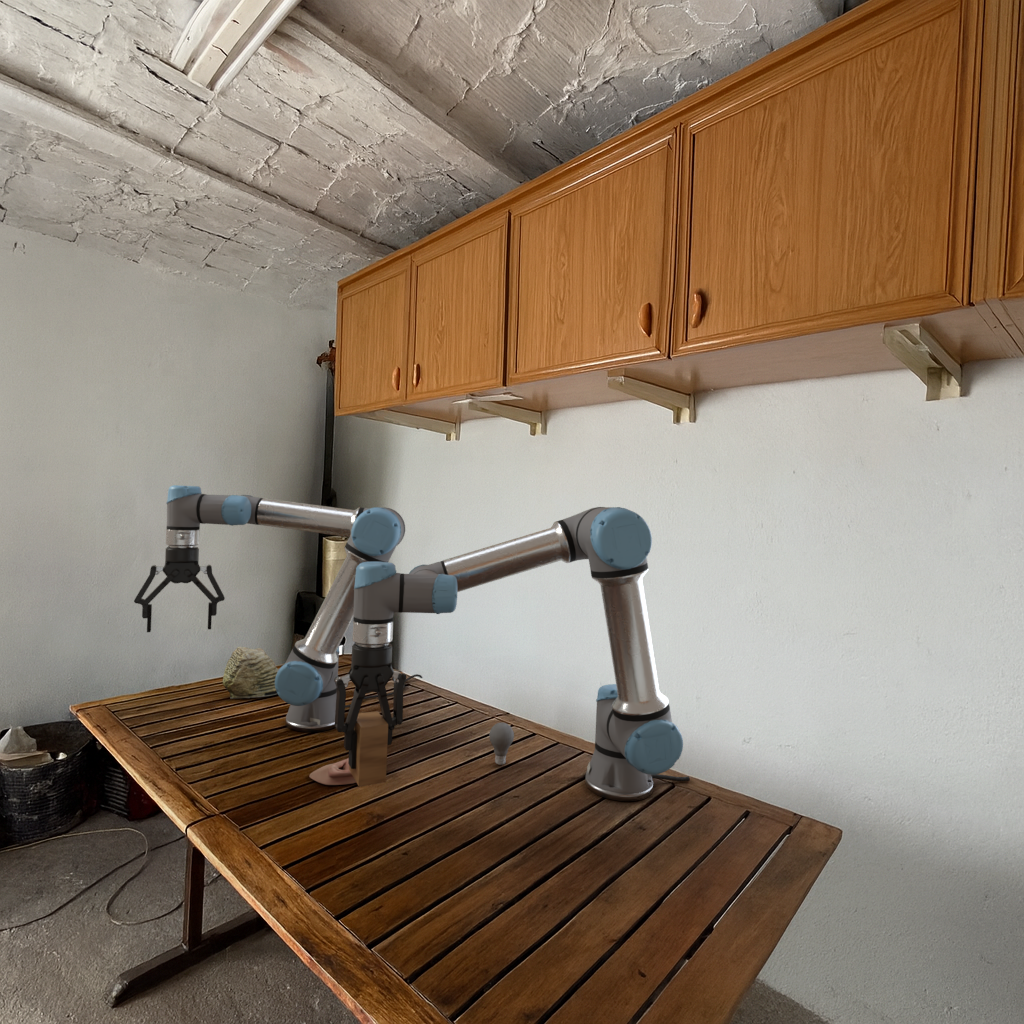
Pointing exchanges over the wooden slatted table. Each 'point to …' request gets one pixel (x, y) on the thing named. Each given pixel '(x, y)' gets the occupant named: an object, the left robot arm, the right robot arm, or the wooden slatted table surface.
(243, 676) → the fossil
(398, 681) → the right robot arm
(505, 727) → the light bulb
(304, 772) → the wooden slatted table surface
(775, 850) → the wooden slatted table surface
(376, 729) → the block
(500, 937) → the wooden slatted table surface
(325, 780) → the anatomical model
